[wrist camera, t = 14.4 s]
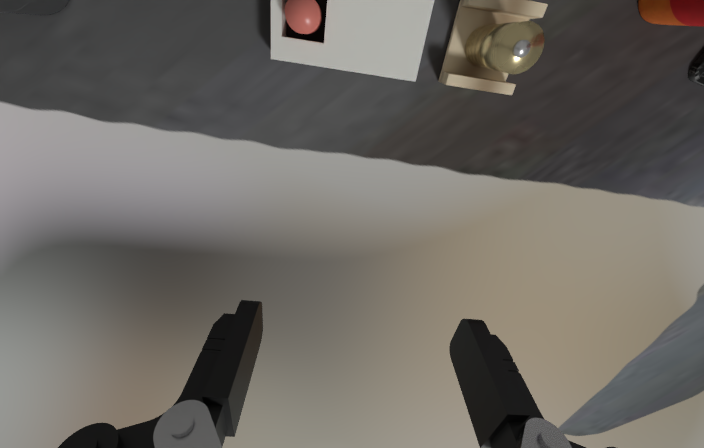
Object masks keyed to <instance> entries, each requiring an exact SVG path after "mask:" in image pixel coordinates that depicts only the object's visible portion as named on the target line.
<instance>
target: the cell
mask: <svg viewBox="0 0 704 448" xmlns="http://www.w3.org/2000/svg"><path fill="white" fill-rule="evenodd" d="M543 47H544V34H543V31H542V29H541V27H540V26H539V25H538V24H536V23H534V22H531V21H521V22H511V23H501V24H491V25H483V26H480V27H478V28H476V29H475V30H474V31H473V32H472V33H471V34H470V36H469V37H468V39H467V41H466V45H465V56H466V58H467V60H468V61H469V63H471V64H472V65H474V66H478V67H483V68H487V69H491V70H496V71H500V72H504V73H509V74H519V73H522V72H524V71H526V70H528V69H529V68H530V67H532V66H533V65H534V64H535V63H536V61H537V60H538V58H539V57H540V55H541V53H542V50H543Z"/></svg>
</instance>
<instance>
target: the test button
mask: <svg viewBox="0 0 704 448" xmlns="http://www.w3.org/2000/svg"><path fill="white" fill-rule="evenodd" d="M285 17H286V20H287V23H288V24H289V26H290V27H291V28H292V29H293V30H294V31H295V32H297V33H300V34H312V33H314V32H316V31H317V30H318V29H319V27H320V26H321V23H322V11H321V8H320V6H319V4H318V3H317V2H316V1H315V0H287V2H286V5H285Z"/></svg>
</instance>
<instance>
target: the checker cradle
mask: <svg viewBox="0 0 704 448" xmlns="http://www.w3.org/2000/svg"><path fill="white" fill-rule="evenodd" d="M286 2H287V0H271V59H275V60H281V61H288V62H294V63H300V64H307V65H313V66H319V67H326V68H332V69H338V70H345V71H351V72H357V73H364V74H370V75H376V76H383V77H389V78H395V79H402V80H408V81H414V82H415V81H416V77H417V73H418V69H419V64H420V60H421V56H422V51H423V47H424V43H425V38H426V34H427V30H428V25H429V21H430V17H431V12H432V8H433V4H434V0H327V10H326V23H325V35H324V43H322V42H316V41H310V40H304V39H298V38H292V37H286V29H287V20H286V17H285V5H286Z"/></svg>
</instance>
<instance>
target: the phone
mask: <svg viewBox="0 0 704 448" xmlns="http://www.w3.org/2000/svg"><path fill="white" fill-rule="evenodd" d="M688 78H689V80H690V81H692V82H695V83H697V84H699V85H701V86H703V87H704V52H703V53H702V54H701V55H700V57H699V58H698V59H697V60H696V62H695V63H694V64H693V65H692V67H691V68H690V70H689V72H688Z"/></svg>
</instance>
